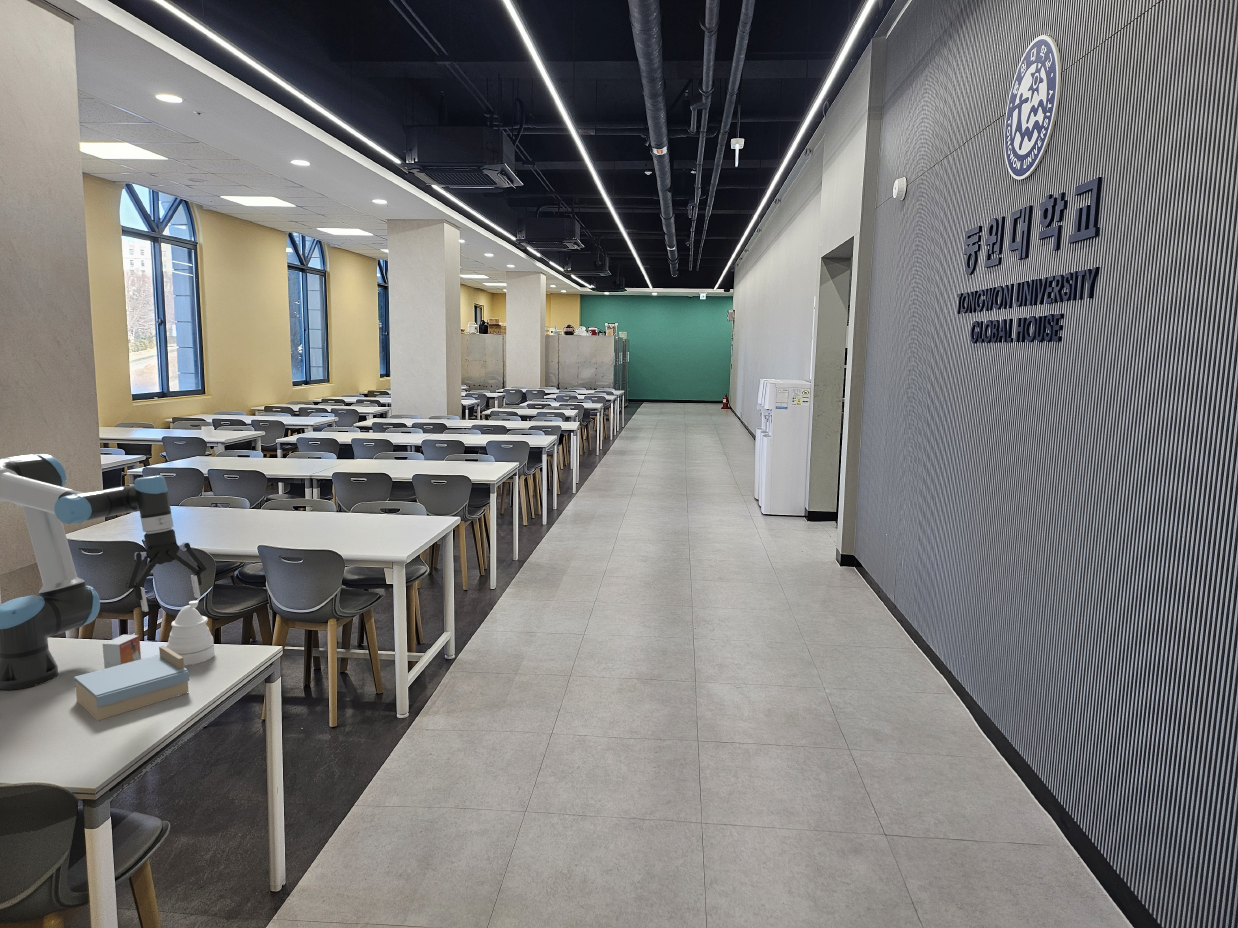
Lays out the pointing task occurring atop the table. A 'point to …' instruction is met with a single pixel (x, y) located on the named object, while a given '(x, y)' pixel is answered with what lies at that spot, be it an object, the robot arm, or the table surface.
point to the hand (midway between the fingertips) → (172, 604)
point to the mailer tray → (126, 700)
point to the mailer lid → (135, 677)
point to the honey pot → (191, 636)
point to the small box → (121, 650)
